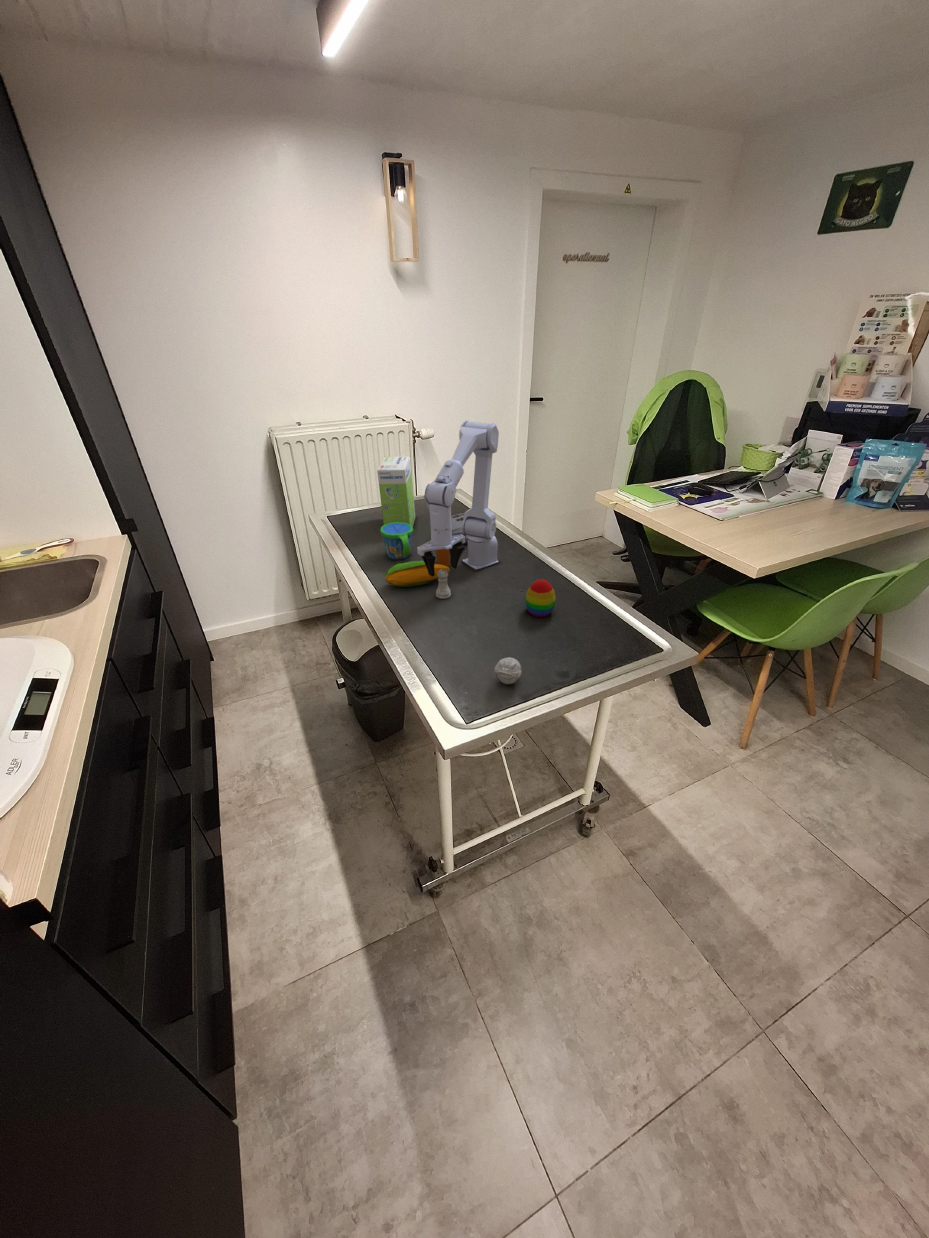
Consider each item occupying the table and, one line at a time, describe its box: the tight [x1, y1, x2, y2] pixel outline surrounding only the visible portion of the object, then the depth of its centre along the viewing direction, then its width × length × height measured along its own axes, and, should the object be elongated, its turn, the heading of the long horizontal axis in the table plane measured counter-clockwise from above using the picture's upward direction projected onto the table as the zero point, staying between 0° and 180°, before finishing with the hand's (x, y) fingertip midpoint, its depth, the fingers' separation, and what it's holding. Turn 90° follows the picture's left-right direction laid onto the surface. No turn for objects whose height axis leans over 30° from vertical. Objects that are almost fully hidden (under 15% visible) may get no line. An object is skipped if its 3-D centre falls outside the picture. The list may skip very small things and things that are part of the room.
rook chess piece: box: [435, 570, 452, 600], centre depth 141 cm, size 4×4×8 cm
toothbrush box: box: [376, 456, 417, 529], centre depth 180 cm, size 18×10×24 cm, turn 179°
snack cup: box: [379, 522, 414, 561], centre depth 162 cm, size 16×10×10 cm
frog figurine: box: [494, 657, 522, 685], centre depth 109 cm, size 6×7×7 cm
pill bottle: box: [435, 549, 451, 567], centre depth 158 cm, size 5×5×8 cm
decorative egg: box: [524, 578, 556, 618], centre depth 132 cm, size 8×8×10 cm
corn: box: [384, 560, 451, 588], centre depth 147 cm, size 7×8×20 cm
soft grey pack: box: [451, 512, 468, 545], centre depth 176 cm, size 15×8×20 cm
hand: (442, 571), depth 139 cm, fingers open, 7 cm apart
